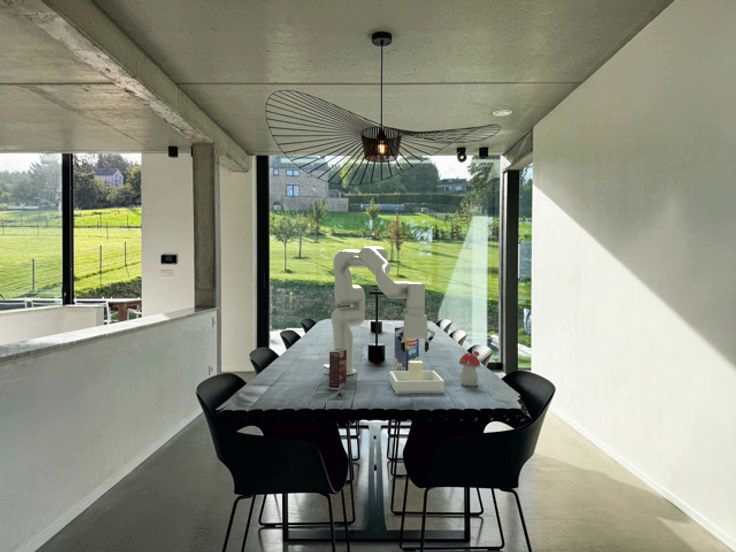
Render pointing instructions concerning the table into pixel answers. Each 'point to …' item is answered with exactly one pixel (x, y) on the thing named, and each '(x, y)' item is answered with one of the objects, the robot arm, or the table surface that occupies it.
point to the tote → (416, 383)
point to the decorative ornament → (469, 369)
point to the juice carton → (415, 371)
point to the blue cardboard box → (408, 355)
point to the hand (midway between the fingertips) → (414, 351)
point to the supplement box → (337, 369)
